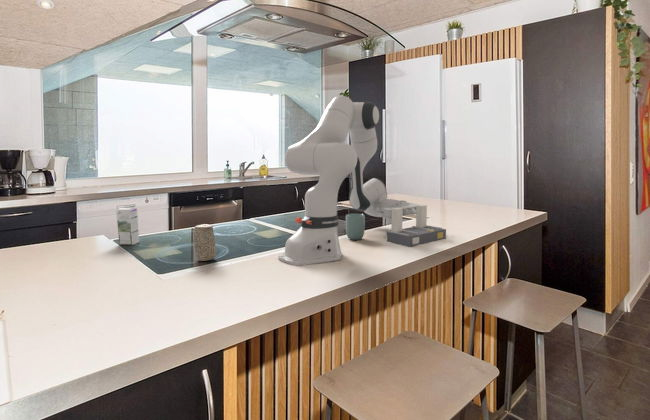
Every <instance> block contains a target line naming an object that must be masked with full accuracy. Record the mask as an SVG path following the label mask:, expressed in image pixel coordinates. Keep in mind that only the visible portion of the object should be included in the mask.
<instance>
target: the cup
mask: <svg viewBox="0 0 650 420" xmlns="http://www.w3.org/2000/svg"><path fill="white" fill-rule="evenodd" d="M365 219H366V215H365V214H364V213H347V214H346V215H345V233H346V236H347V238H348V239H349V240H351V241H359V240H362V239H363V238H364V235H365V227H366V221H365Z"/></svg>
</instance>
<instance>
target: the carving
mask: <svg viewBox="0 0 650 420" xmlns="http://www.w3.org/2000/svg"><path fill="white" fill-rule="evenodd" d="M215 237H216V236H215V233H214V227H213V225H212V224H207V223H206V224H205V223H204V224H197V225H195V226H194V229H193V241H194V242H193V245H194V253H195V257H196V259H197V261H199V262H207V261H211V260H214V259H216V258H217V246H216V239H215Z"/></svg>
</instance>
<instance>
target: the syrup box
mask: <svg viewBox="0 0 650 420" xmlns="http://www.w3.org/2000/svg"><path fill="white" fill-rule="evenodd" d="M115 212H116V220H117V222H116V223H117V232H118V245H121V246H122V245H123V246H133V245H136V244H138V243H140V233H139V231H140V230H139V218H138V207H137V206H136V207H135V206H134V207H130V206H129V207H127V206H125V207H124V206H123V207H119V208H116V210H115Z"/></svg>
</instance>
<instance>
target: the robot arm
mask: <svg viewBox="0 0 650 420" xmlns="http://www.w3.org/2000/svg"><path fill="white" fill-rule="evenodd" d="M379 121H380V111H379V108H378V106H377V104H375V103H374V102H371V101H365V102H364V101H362V102H361V101H360V102H359V101H358V102H357V101H355V102H354V101H352V99H351V98H349V97H347V96H346V95H345V96H344V95H338V96H335V97H333V99H332V100H331V101H330V102H329V103H328V105H327V106H326V108H325V109H324V111H323V113H322V116H321V118H320V120H319V122H317V123H318V124H317V125H316V127H315V128H314V129H313V130H312V131H311V132H310V133H309V134H308V135H306V137H305V138H303V139H302V140H299V142H296V143H294V144H292V145H289V147H288V148H287V149H286V152H285V154H284V156H285V157H284V162H285V163H284V164H285V165H286V168H287V169H288V171H290V172H291V173H294V174H299V175H304V176H305V175H306V176H319V178H318V182H317V183H316V184H315V185H313V186H311V187H309V188H308V190H306V192H305V195H304V215H303V218H302V217H298V216H297V217H295V220H294V221H295V223H296V224H300V227H299V228H298V229H297V230H296V231H295V232H294V233H293V234H292V235H291V236H290V237H289V238H288V239H287V240H286V242H285V246H284V253H281V254H278V256H277V258H278V260H279V261H281V262H284V263H287V264H289V265H295V266H307V265H314V264H320V263H326V262H327V263H328V262H333V261H334V262H335V261H340V260H341V257H342V256H343V253H342V250H341V246H340V241H339V233H338V232H339V231H338V226H339V215H338V197H339V195H338V194H339V190H340V187H341V185H342V184H343V181H344V180H345V179H346V178H347V177H348V178H349V179H348V182H349V193H348V201H349V204H350V206H351V208H352V209H354V210H356V211H358V212H363V213H365V214H366V215H368V216H370V217H371V216H372V217H377V218H384V219H388V220H392V208H402V209H403V214H402V217H404V216H410V215H412V216H414V215H415V216H416V205H420V204H417V203H413V202H408V201H407V200H398V199H394V198H393V199H392V198H388V192H387V187H386V184H385V183H384V182H383V181H382V180H381V179H379V178H376V177H373V178H371V179H369V180H368V181H366V182H364V178H363V177H364V175H363V172H364V169H365V167H366V165H367V163H368V162H369V161H370V160H371V159H372V158H373V156H374V155H375V154H376V152H377V150H378V137H377V132H376V127H377V126H378V124H379ZM348 134H349V139H350V144H348V143H345V141H346V139H347V136H348Z"/></svg>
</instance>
